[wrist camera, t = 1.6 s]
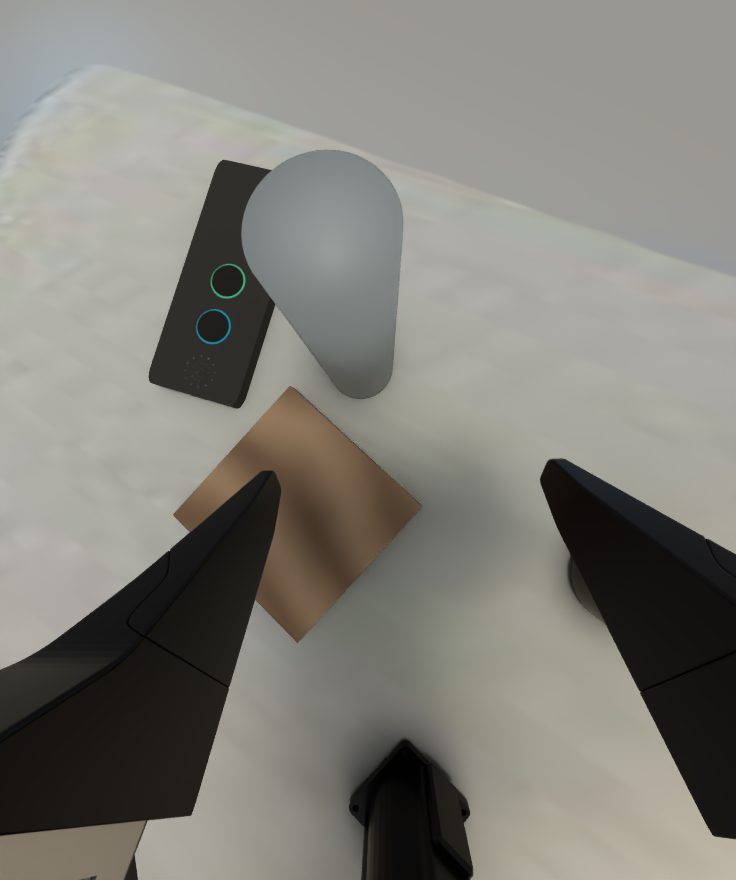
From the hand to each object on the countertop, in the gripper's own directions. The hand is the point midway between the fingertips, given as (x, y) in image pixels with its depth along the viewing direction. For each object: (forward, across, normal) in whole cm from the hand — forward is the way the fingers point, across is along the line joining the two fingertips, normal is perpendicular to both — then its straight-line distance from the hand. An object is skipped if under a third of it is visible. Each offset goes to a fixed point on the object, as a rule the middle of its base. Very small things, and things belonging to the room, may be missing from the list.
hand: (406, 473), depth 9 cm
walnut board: (+8, +8, +11) cm, 16 cm away
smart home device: (+21, +13, -3) cm, 25 cm away
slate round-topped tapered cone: (+15, +2, +2) cm, 15 cm away
